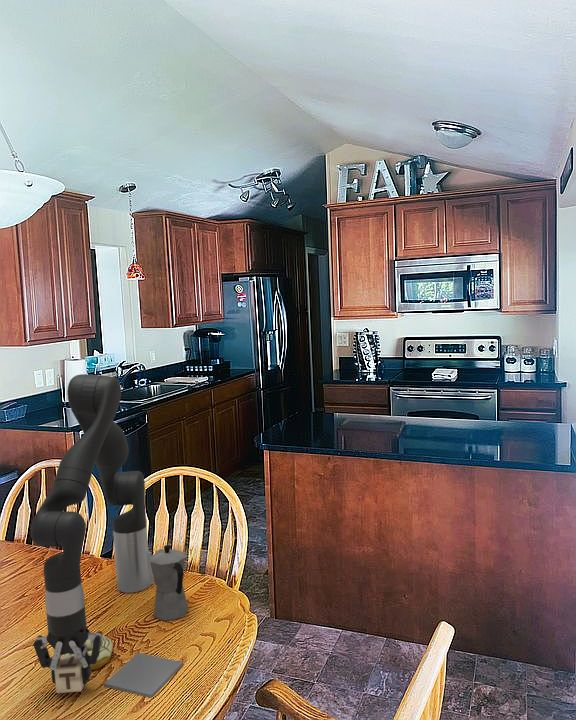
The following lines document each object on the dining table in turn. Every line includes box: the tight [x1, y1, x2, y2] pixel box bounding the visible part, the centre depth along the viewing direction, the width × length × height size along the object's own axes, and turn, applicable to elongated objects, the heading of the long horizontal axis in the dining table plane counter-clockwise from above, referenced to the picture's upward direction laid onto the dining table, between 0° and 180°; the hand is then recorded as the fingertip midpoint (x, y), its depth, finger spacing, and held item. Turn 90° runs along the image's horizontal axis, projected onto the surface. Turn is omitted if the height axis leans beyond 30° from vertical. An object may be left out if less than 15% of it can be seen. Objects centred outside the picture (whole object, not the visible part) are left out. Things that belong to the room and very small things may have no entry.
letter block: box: [54, 655, 85, 694], centre depth 130 cm, size 5×5×5 cm
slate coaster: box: [103, 652, 184, 699], centre depth 135 cm, size 12×12×1 cm
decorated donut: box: [63, 635, 114, 671], centre depth 142 cm, size 10×11×4 cm
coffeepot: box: [150, 544, 189, 622], centre depth 160 cm, size 15×9×18 cm, turn 33°
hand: (72, 682), depth 131 cm, fingers closed on letter block, 5 cm apart
